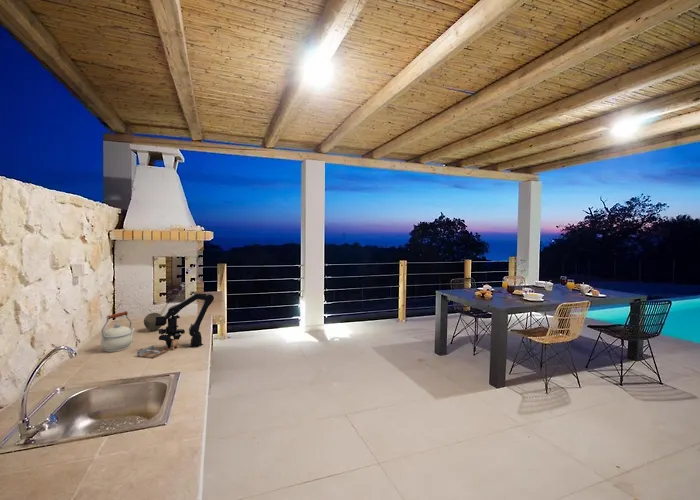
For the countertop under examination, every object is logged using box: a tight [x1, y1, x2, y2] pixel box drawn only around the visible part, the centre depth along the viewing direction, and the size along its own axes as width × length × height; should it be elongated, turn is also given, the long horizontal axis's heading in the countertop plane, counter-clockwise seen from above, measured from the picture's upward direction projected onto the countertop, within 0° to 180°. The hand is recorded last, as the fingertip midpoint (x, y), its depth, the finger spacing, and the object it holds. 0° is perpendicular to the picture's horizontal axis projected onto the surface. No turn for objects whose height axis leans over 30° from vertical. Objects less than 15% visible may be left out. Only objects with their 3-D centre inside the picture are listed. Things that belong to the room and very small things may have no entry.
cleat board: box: [136, 345, 169, 359], centre depth 213 cm, size 12×12×4 cm
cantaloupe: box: [143, 312, 162, 332], centre depth 265 cm, size 14×14×15 cm
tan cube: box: [165, 338, 179, 351], centre depth 224 cm, size 6×5×6 cm
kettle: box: [100, 311, 136, 353], centre depth 223 cm, size 25×18×25 cm
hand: (172, 346), depth 224 cm, fingers closed on tan cube, 5 cm apart
